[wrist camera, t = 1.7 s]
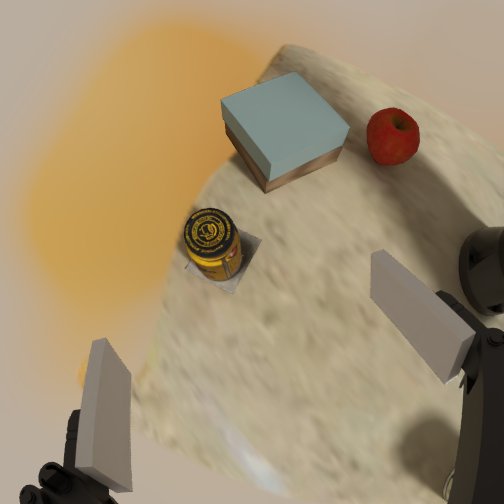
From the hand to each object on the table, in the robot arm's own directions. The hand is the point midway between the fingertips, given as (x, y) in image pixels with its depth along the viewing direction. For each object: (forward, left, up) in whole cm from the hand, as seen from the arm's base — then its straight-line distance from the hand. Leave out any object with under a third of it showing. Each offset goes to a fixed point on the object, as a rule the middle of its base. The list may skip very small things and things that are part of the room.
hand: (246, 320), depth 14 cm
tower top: (-18, -23, -23) cm, 37 cm away
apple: (-32, -14, -27) cm, 44 cm away
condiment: (-2, -11, -27) cm, 29 cm away
